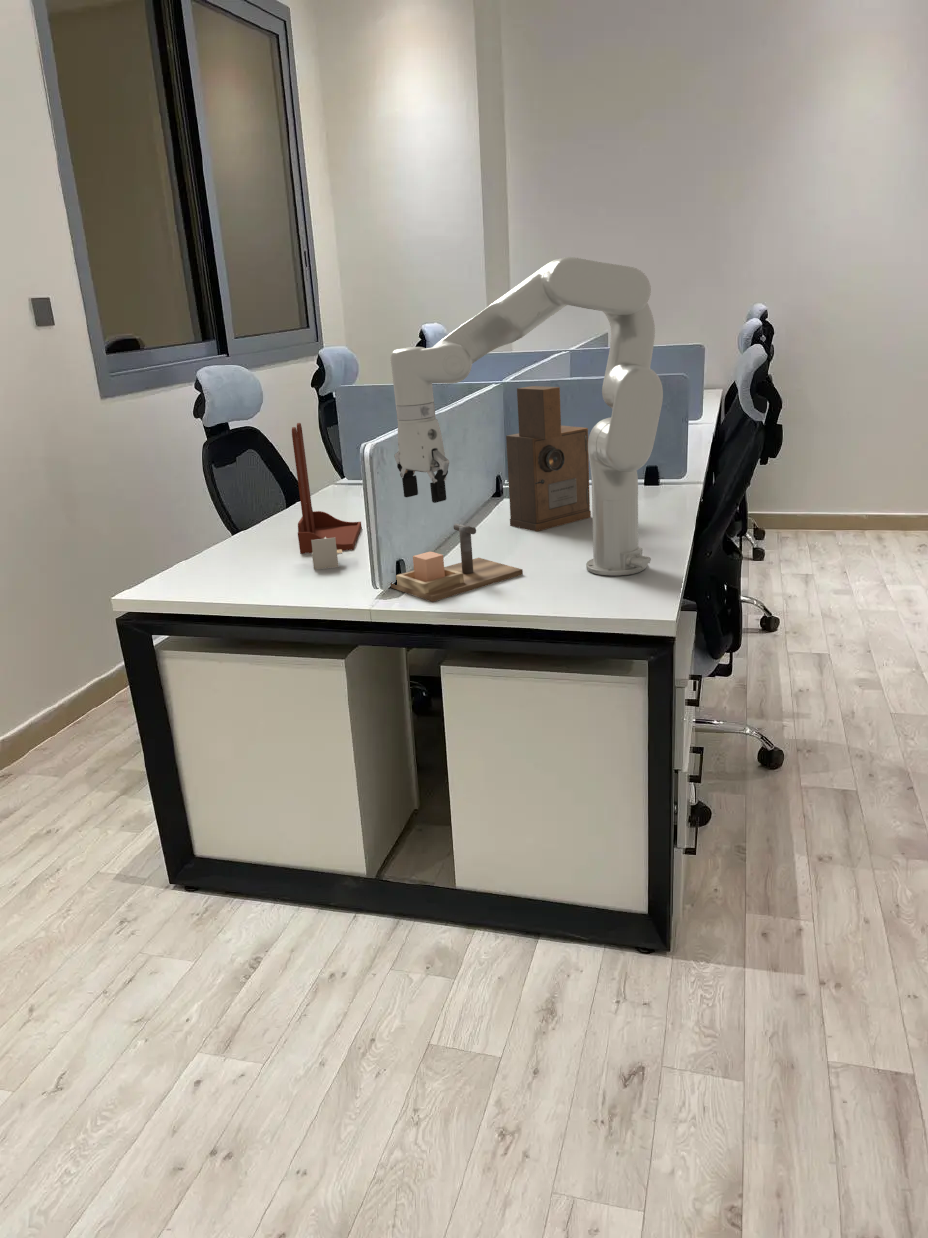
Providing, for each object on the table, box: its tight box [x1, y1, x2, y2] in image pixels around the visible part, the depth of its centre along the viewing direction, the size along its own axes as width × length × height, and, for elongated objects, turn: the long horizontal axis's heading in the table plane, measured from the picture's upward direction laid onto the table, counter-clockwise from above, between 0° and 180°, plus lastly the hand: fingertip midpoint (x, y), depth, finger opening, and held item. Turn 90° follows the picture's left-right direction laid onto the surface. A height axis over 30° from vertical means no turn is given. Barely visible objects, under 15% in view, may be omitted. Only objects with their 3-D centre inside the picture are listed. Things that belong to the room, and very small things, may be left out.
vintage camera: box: [505, 385, 592, 533], centre depth 236 cm, size 19×14×35 cm
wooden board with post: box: [390, 523, 524, 603], centre depth 196 cm, size 15×24×12 cm, turn 128°
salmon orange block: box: [412, 551, 445, 582], centre depth 193 cm, size 4×4×6 cm
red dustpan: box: [291, 422, 362, 554], centre depth 236 cm, size 24×13×30 cm, turn 1°
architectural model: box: [311, 537, 343, 571], centre depth 216 cm, size 3×7×7 cm, turn 100°
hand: (425, 498), depth 188 cm, fingers open, 9 cm apart
